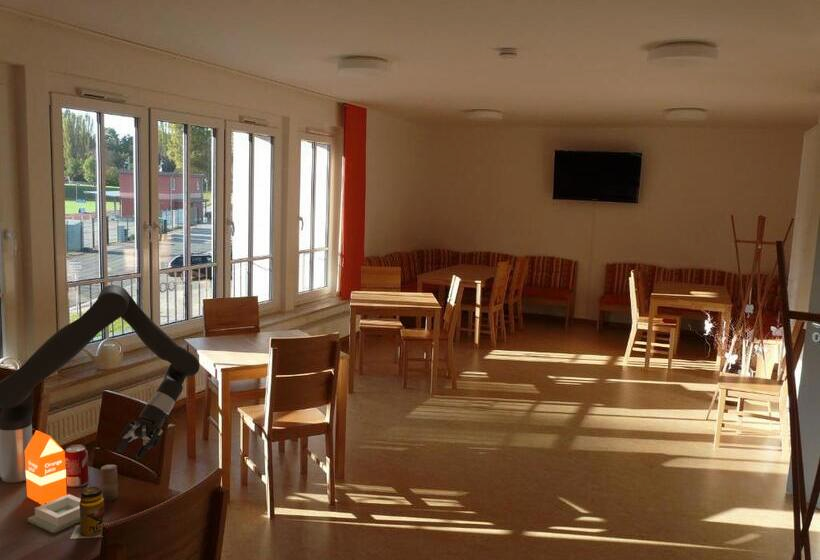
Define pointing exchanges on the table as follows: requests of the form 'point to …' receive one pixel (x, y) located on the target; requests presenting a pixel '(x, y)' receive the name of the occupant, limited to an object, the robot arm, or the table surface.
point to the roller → (109, 482)
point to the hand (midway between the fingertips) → (128, 454)
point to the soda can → (76, 466)
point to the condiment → (90, 514)
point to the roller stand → (57, 514)
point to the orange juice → (45, 469)
